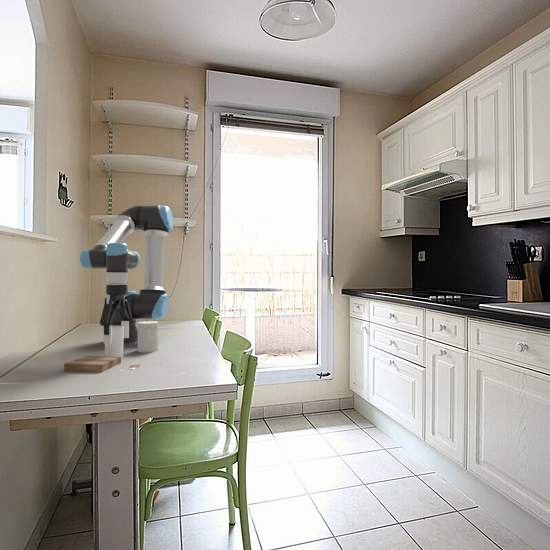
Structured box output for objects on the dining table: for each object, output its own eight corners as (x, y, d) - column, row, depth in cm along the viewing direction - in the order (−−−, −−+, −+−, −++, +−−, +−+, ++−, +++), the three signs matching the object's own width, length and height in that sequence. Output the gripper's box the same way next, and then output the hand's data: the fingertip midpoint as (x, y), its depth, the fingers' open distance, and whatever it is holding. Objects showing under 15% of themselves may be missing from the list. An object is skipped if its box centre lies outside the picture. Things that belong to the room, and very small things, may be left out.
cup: (147, 354, 164) (147, 324, 164) (133, 352, 169) (133, 322, 168) (162, 351, 171) (162, 322, 171) (149, 349, 175) (149, 320, 175)
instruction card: (127, 364, 145) (127, 363, 145) (147, 364, 146) (147, 363, 146) (118, 371, 135) (118, 370, 135) (140, 371, 136) (140, 370, 136)
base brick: (86, 364, 148) (86, 355, 148) (120, 365, 147) (120, 356, 147) (64, 372, 135) (64, 363, 135) (102, 374, 134) (102, 364, 134)
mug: (123, 359, 154) (123, 327, 154) (104, 361, 151) (104, 328, 151) (123, 354, 163) (123, 324, 163) (105, 355, 161) (105, 324, 161)
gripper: (122, 283, 168) (122, 335, 168) (89, 285, 143) (89, 346, 143) (140, 283, 167) (140, 335, 168) (110, 285, 143) (109, 346, 143)
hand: (116, 340), depth 155 cm, fingers open, 13 cm apart
